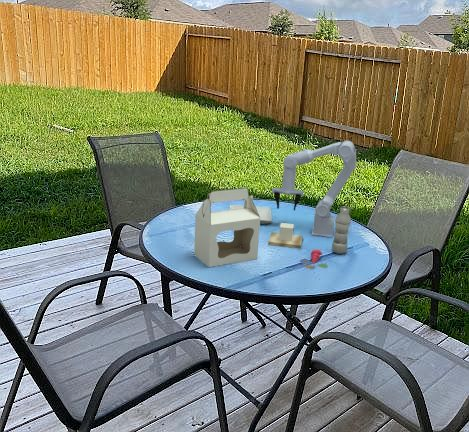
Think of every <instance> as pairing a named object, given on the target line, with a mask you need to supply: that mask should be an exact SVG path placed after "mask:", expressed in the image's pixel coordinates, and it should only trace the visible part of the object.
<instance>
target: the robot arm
mask: <svg viewBox="0 0 469 432" xmlns="http://www.w3.org/2000/svg"><path fill="white" fill-rule="evenodd" d="M330 154H332V155H334V156H338V155H339V157H340V158H341V160H342V163H343V168H342V169H341V170H340V172H339V173H338V175H337V176H336V178H335V180H334V181H333V183H332V184H331V186H330V187H329V189H328V191H327V192H326V194H325V195H324V197H322V199H320V200H318V202H317V205H316V206H315V213H314V217H313V218H314V219H313V226H312V227H313V228H311V235H312V236H317V237H318V236H319V237H327V238H328V237H329V238H334V236H333V235H334V233H335V222H336V221H335V220H336V216H334V215H332V214H331V213H330V210H331V209H332V205H333V203H334V202H335V200H336V199H337V197H338V195H339V194H340V192H341V191H342V189H343V188H344V186H345V185H346V183H347V181H348V180H349V179H350V177H351V176H352V174H353V172H354V170H356V167H357V149H356V147H355V144H354V143H353V142H352V141H351V140H344V141H343V142H342V141H340V142H339V141H338V142H334V143H331V144H329V145H326V146H323V147H320V148H317V149H314V150H311V149H309V148H308V149H307V148H303V149H302V150H301V151H299V152H292V154H288V155H287V156H285V157H284V159H283V163H282V164H283V170H282V171H283V174H282V182H281V183H282V185H281V187H279V188H278V187H276V188H275V187H272V188H271V193H272V194H273V197H274V199H275V202H276V209H277V210H278V209H279V208H280V197H281V194H283V195H292V196H294V195H295V196H294V206H293V211H296V208H297V205H298V203H299V201H300V200H301V197H304V194H305V193H304V192H305V191H304V190H298V189H295V186H296V176H297V175H296V174H297V166H302V165H306V164H308V163H311V162H313V161H314V159H315V158H319V157H321V156H326V155H330Z"/></svg>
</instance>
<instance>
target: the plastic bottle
mask: <svg viewBox="0 0 469 432" xmlns="http://www.w3.org/2000/svg"><path fill="white" fill-rule="evenodd" d="M349 213H350V207H349V206H345V205H343V206H340V208H339V213H338V214H337V216H335V221H334V224H335V228H334V236H333V241H332V244H331V250H332V251H333V252H334V253H336V254H340V255H342V254H345V253H346V252H347V251H348V244H349V243H348V238H349V237H348V235H349V229H350V227H351V223H352V218H351V216H350V214H349Z"/></svg>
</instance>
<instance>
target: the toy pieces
mask: <svg viewBox="0 0 469 432" xmlns="http://www.w3.org/2000/svg"><path fill="white" fill-rule="evenodd" d="M322 255H323V252H322V250H320V249H316V248H315V249H313V250H312V251H311V252H310V256H311V260H309V259H304V258H303V259H301V260H300V264H305V265H304V268H306V269H310V270H313V268H314V264H315V263H316V262H318V261H319V259H320V258H321V256H322ZM311 263H312V264H311ZM308 264H309V265H308ZM327 265H328V264H326V263H318V264H317V266H318V267H319V268H322V269H324V268H325V269H326V268H327V269H328V266H329V265H328V266H327Z"/></svg>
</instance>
